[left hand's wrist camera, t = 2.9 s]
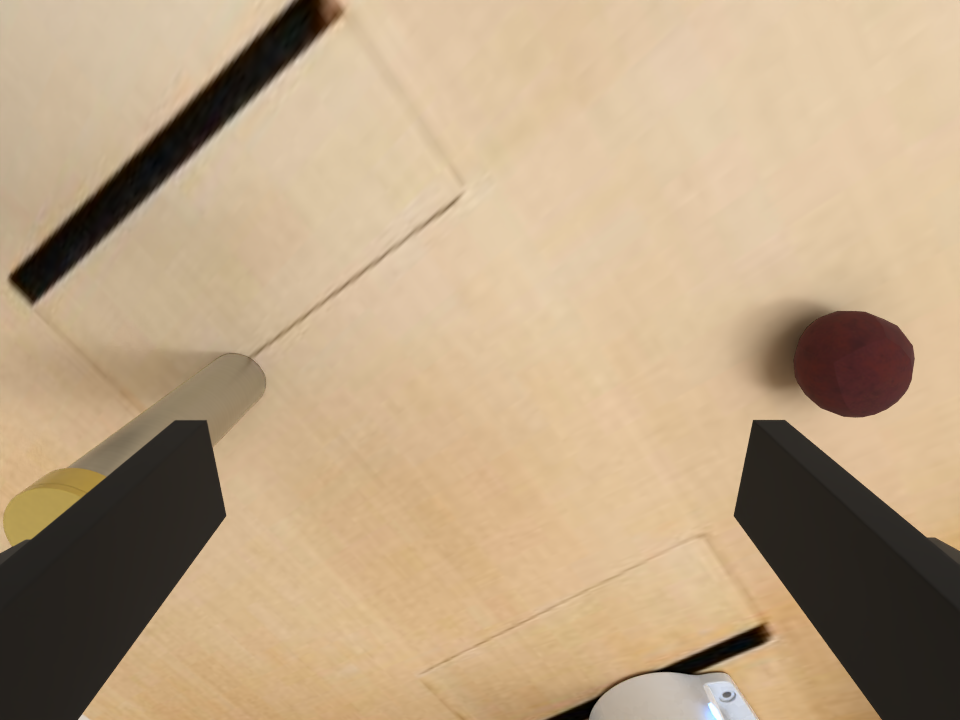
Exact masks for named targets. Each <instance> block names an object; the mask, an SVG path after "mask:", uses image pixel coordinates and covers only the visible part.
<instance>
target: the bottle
mask: <svg viewBox="0 0 960 720" xmlns="http://www.w3.org/2000/svg"><path fill="white" fill-rule="evenodd" d="M265 387H266V380H265V376H264V373H263V371H262V369H261V368H260V367H259V365H258V364H257V363H256V362H255V361H253V360H252V359H250V358H249V357H247V356H244V355H241V354H225V355H223V356H220V357H219V358H217V359H216V360H214V361H213V362H212V363H210V364H209V365H207V366H206V367H205V368H203V369H202V370H201V371H199V372H198V373H196V374H195V375H194V376H192V377H191V378H190V379H188V380H187V381H185V382H184V383H183V384H181V385H180V386H179V387H177V388H176V389H175V390H173V391H172V392H170V393H169V394H168V395H166V396H165V397H164V398H162V399H161V400H159V401H158V402H157V403H155V404H154V405H153V406H151V407H150V408H148V409H147V410H146V411H144V412H143V413H142V414H140V415H139V416H137V417H136V418H135V419H133V420H132V421H131V422H129V423H128V424H126V425H125V426H124V427H122V428H121V429H120V430H118V431H117V432H115V433H114V434H113V435H111V436H110V437H109V438H107V439H106V440H104V441H103V442H102V443H100V444H99V445H98V446H96V447H95V448H93V449H92V450H91V451H89V452H88V453H87V454H85V455H84V456H82V457H81V458H80V459H78V460H77V461H76V462H74V463H73V464H71V465H70V466H69V467H67V468H82V469H87V470H91V471H94V472H97V473H100V474H102V475H104V476H106V477H107V476H108V475H109V474H111V473H112V472H113V471H114V470H115V469H117V468H118V467H119V466H120V465H121V464H123V463H124V462H125V461H126V460H128V459H129V458H130V457H131V456H132V455H134V454H135V453H136V452H137V451H138V450H140V449H141V448H142V447H143V446H144V445H146V444H147V443H148V442H149V441H150V440H152V439H153V438H154V437H155V436H156V435H158V434H159V433H160V432H161V431H162V430H164V429H165V428H166V427H167V426H169V425H170V424H171V423H172V422H173V421H175V420H207V423H208V428H209V433H210V438H211V443H212V448H213V447H214V446H215V445H216V444H217V443H218V442H219V441H220V440H221V439H222V437H223V436H224V435H225V434H226V433H227V432H228V431H229V430H230V429H231V428H232V427H233V426H234V425H235V424H236V423H237V422H238V421H239V420H240V419H241V418H242V417H243V415H244V414H245V413H246V412H247V411H248V410H249V409H250V408H251V407H252V406H253V405H254V404H255V403H256V402H257V401H258V400H259V399H260V398H261V396H262V395H263V393H264V391H265Z"/></svg>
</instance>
